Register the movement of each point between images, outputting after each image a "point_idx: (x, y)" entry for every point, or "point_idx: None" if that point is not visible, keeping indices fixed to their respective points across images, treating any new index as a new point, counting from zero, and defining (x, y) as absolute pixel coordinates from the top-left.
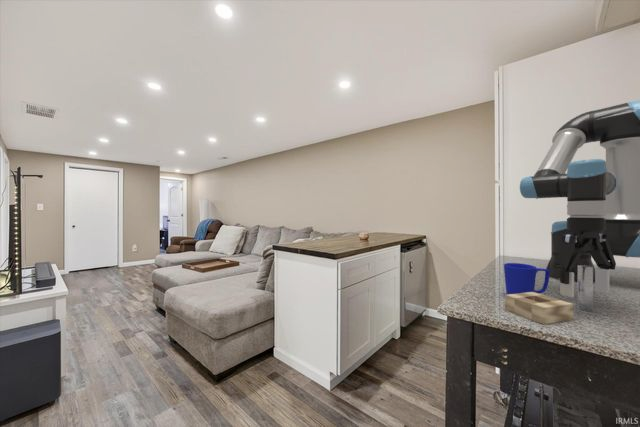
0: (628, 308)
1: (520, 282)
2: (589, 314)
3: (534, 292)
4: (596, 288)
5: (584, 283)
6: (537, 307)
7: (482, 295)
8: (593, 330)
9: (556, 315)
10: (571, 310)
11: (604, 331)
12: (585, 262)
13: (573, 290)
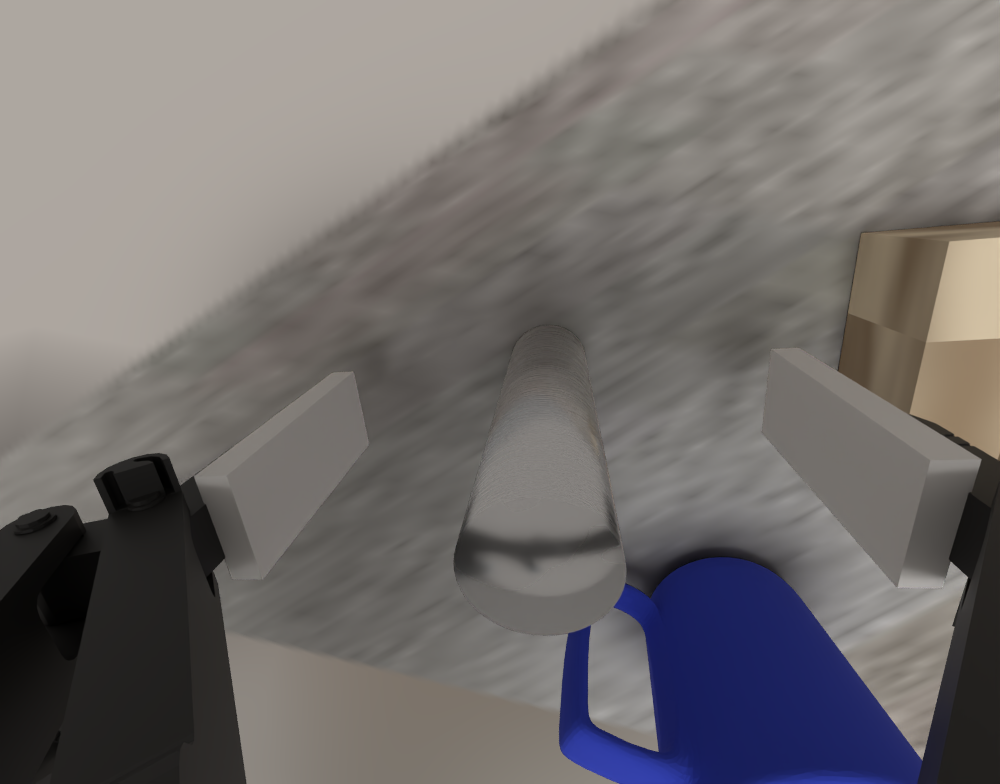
0: (253, 314)
1: (853, 672)
2: (626, 286)
3: None
4: (361, 444)
5: (597, 423)
6: None
7: (919, 676)
8: (978, 38)
9: None
10: (930, 236)
11: (921, 7)
12: None
13: (808, 367)
